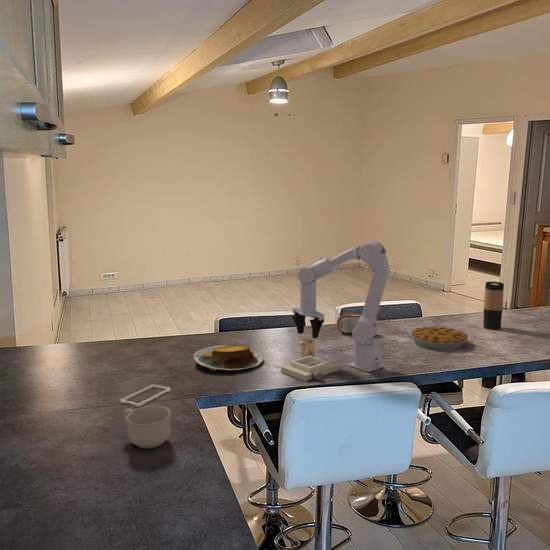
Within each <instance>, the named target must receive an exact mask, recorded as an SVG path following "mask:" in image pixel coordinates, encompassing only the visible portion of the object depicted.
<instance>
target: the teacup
mask: <svg viewBox="0 0 550 550" xmlns="http://www.w3.org/2000/svg"><path fill="white" fill-rule="evenodd" d="M171 415H172V414H171V410H170V409H169V408H168V407H166V406H163V405H157V404H152V405H151V404H150V405H142V406H140V407H136V408H135V409H132V408H126V409H125V410H124V411H123V413H122V417H123V418H122V419H123V421H124V422H125V424H126V425H127V431H128V437H129V440H130V441H131V442H132V443H133V444H134V445H135V446H138V447H139V448H142V449H154V448H155V449H156V448H158V447H159V446H162V445H163V444H164V443H165V442H166V441H167V440H168V439H169V437H170V435H171V431H172V430H171V429H172V428H171V427H172V425H171V422H172V421H171V420H172V419H171Z"/></svg>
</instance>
